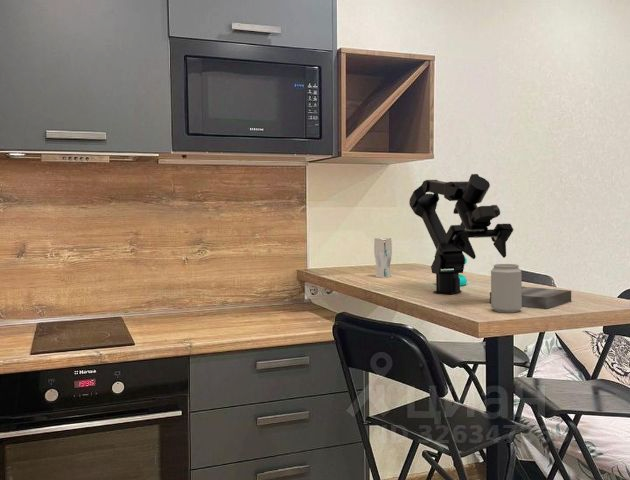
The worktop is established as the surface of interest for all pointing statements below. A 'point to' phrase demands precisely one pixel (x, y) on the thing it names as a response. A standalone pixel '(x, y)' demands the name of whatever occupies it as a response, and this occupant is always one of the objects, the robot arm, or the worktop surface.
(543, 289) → the plinth
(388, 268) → the white piece
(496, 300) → the can
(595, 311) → the worktop surface
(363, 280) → the worktop surface
